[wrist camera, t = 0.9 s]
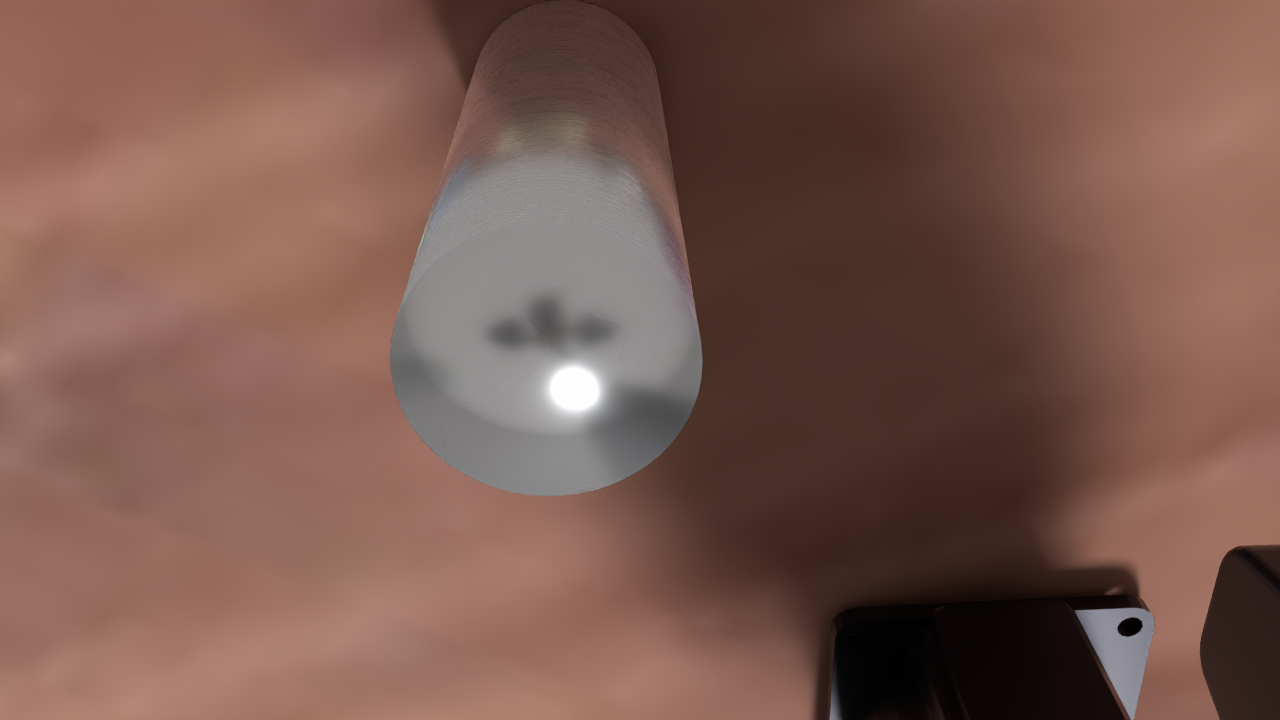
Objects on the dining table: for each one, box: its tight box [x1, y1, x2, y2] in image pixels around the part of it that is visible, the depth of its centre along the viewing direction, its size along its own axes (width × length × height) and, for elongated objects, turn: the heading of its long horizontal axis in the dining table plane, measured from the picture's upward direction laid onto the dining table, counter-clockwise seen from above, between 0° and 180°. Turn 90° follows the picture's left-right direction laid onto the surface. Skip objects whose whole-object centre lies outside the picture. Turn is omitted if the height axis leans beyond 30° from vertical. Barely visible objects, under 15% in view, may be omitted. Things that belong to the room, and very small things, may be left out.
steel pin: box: [390, 0, 703, 496], centre depth 16 cm, size 3×3×9 cm
